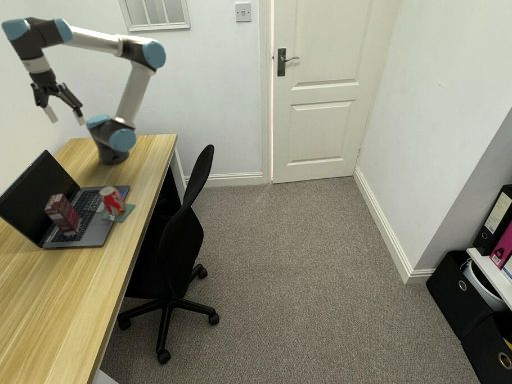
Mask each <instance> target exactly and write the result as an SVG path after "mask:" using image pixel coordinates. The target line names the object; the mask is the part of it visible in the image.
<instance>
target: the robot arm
mask: <svg viewBox="0 0 512 384" xmlns="http://www.w3.org/2000/svg"><path fill="white" fill-rule="evenodd" d="M1 29H2V30H3V32H4V34H5V36H6V39H7V40H8V42H9V43H10V45H11V47H12V48H13V49H14V51H15V53H16V54H17V57H18V58H19V59H20V60H19V61H21V63H22V66H23V67H24V68H25V70H26V71H27V72H28V76H29V78H30V79H31V81H32V82H31V83H30V87H31V89H32V93H33V98H34V103H35V106H36V107H40V108H41V109H43V111H44V113H45V114H46V116H47V117H48V119H49V120H50V122H51V123H52V124H55V123H57V122H58V121H59V118H58V117H57V114H56V113H55V112H54V109H53V108H52V106H51V105H50V104H49V99H50V97H56V98H59V99H60V100H61V101H63V102H64V103H65V104H66V105H68V107H70V108H71V109H72V113H73V115H74V117H75V119H76V121H77V122H78V124H79V126H80V127H82V126H83V125H85V127H86V129H87V131H88V133H89V134H90V135H91V139H93V142H94V144H95V146H96V148H97V152H98V160H99V162H100V163H101V164H102V165H105V166H111V165H117V164H120V163H122V162H124V161H125V160H126V159H128V158H129V156H130V150H132V149H133V148H134V147H135V145H136V144H137V141H138V139H137V138H138V137H137V135H136V133H135V130H136V128H137V126H136V125H135V122H136V118H137V116H138V113H139V110H140V107H141V104H142V102H143V100H144V97H145V93H146V90H147V89H148V88H147V87H148V86H149V83H150V80H151V77H152V76H155V75H156V73H157V71H158V69H161V68H163V67H164V66H165V63H166V61H167V54H166V50H165V48H164V45H162V43H160V41H158V40H156V39H153V38H146V37H142V36H141V37H140V36H135V35H134V36H133V35H123V34H119V33H118V34H113V35H110V34H106V33H101V32H98V31H93V30H89V29H85V28H81V27H75V26H72V25H71V26H70V25H69V24H68V22H67V21H66V19H63V18H53V19H41V18H36V17H33V16H28V17H24V18H15V19H8V20H5V21H3V22H2V23H1ZM59 45H62V46H68V47H73V48H78V49H84V50H89V51H96V52H101V53H105V54H106V53H107V54H112V55H113V56H114V57H116V58H121V59H125V60H128V61H129V63H130V65H131V70H130V73H129V76H128V78H127V82H126V84H125V87H124V90H123V92H122V96H121V97H120V101H119V103H118V106H117V109H116V113H115V115H114V116H112V117H111V115H109V114H106V113H105V114H97V115H95V116H92V117H90V118H89V119H87V120H85V118H84V114H83V112H82V110H81V108H82V107H84V104H83V103H82V102H81V101H80V100H79V99H78V97H76V96H75V94H74V93H73V92H72V91H71V89H70V88H68V86H67V84H66V83H65V82H60V83H58V82H57V80H56V79H57V76H56V74H55V72H54V70H53V68H52V67H51V64H50V62H49V60H48V58H47V57H46V54H45V53H44V51H43V49H47V48H52V47H55V46H59Z"/></svg>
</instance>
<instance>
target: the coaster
mask: <svg viewBox="0 0 512 384" xmlns="http://www.w3.org/2000/svg"><path fill="white" fill-rule="evenodd" d="M124 203H125V206H126V210H125V211H124V212H123V213H122V214H120V215H117V216H115V217H114V221H113V222H115V223H116V222H118V223H124V221H126V219H127V218H128V217H129V215H130V214H131V212H133V210H134V209H135V208H136V204H133V203H126V202H124ZM109 215H111V214H110V213H109V212H108V210H106V213H105V212H104V214H103V216H102V217H101V219H102V220H104V219H109V220H108V221H110V218H111V217H110V216H109Z"/></svg>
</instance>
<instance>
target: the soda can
mask: <svg viewBox="0 0 512 384" xmlns="http://www.w3.org/2000/svg"><path fill="white" fill-rule="evenodd" d="M99 195H100V198H101V200H102V202H103V204H104V206H105V209H106V211H108V212H109V213H110V214H111V215H112V216H117V215H120V214H122V213H123V212H124V211H125V210H126V206H125V203H126V202H124V199H123V198H122V196H121V194H120V192H119V190H118V189H117V188H115V186H114V185H106V186H105V187H103V188H101V189H100V190H99Z"/></svg>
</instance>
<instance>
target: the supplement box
mask: <svg viewBox="0 0 512 384" xmlns="http://www.w3.org/2000/svg"><path fill="white" fill-rule="evenodd" d="M43 211H44V213H45V214H46V215H47V216H48V218H49V219H50V221H52V222H53V223H54V225H56V227H57V228H58V229H59V230H60V232H61V233H62V234H63V235H64V237H65V236H70V235H76V234H78V231H79V228H80V229H81V227H80V223H81V220H83V219H82V217H81V216H80V215H79V214H78V212H77V211H76V209H75V208H74V206H73V205H72V204H71V202H70V201H69V200H68V198H67V197H66V196H65V194H64V193H57V194H52V195H50V197H49V199H48V201H47V203H46V204H45V208H44V209H43ZM79 232H80V231H79ZM78 235H79V234H78Z"/></svg>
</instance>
